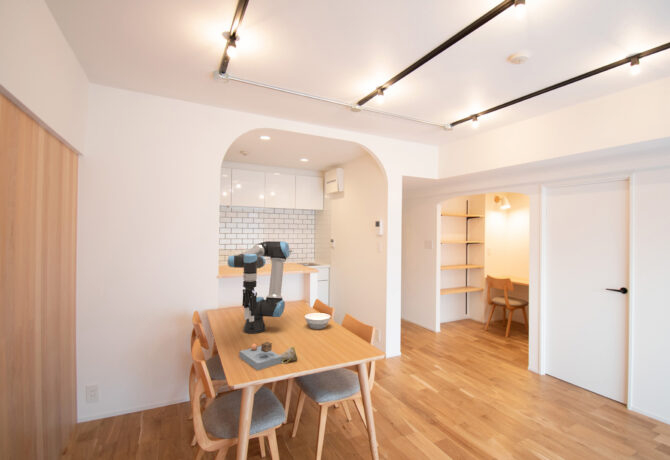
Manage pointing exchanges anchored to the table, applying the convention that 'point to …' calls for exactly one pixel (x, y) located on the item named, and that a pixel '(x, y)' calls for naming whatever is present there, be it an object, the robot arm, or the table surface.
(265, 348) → the walnut cube
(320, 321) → the bowl
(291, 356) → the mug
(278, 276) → the robot arm
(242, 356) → the grey flat block
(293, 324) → the table surface
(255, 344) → the ball
